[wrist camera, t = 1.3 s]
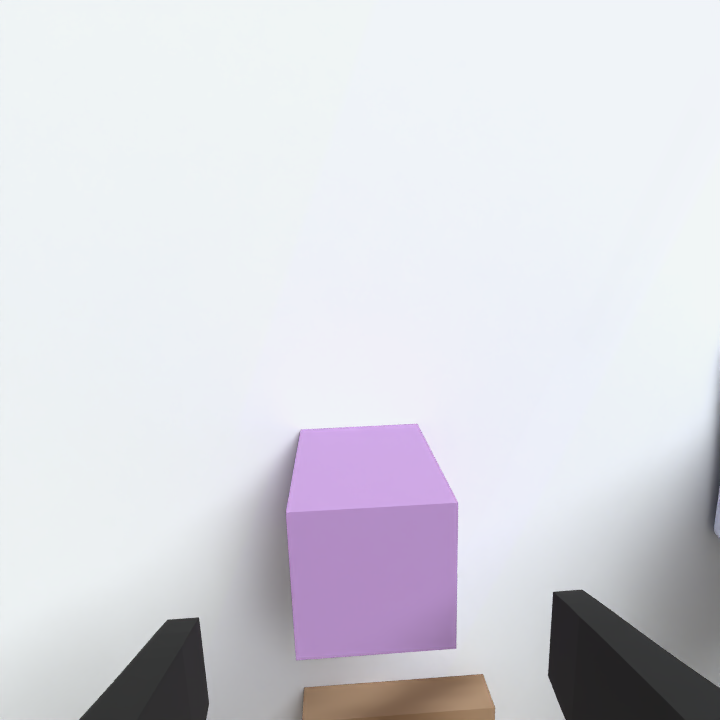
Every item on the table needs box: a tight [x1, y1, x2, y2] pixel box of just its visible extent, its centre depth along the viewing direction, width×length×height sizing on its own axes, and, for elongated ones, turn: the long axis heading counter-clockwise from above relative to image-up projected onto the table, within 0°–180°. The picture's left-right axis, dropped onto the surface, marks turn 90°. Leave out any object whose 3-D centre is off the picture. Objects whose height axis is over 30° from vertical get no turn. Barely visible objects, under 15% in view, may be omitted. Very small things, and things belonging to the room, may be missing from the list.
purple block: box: [286, 424, 458, 660], centre depth 14 cm, size 4×4×6 cm
